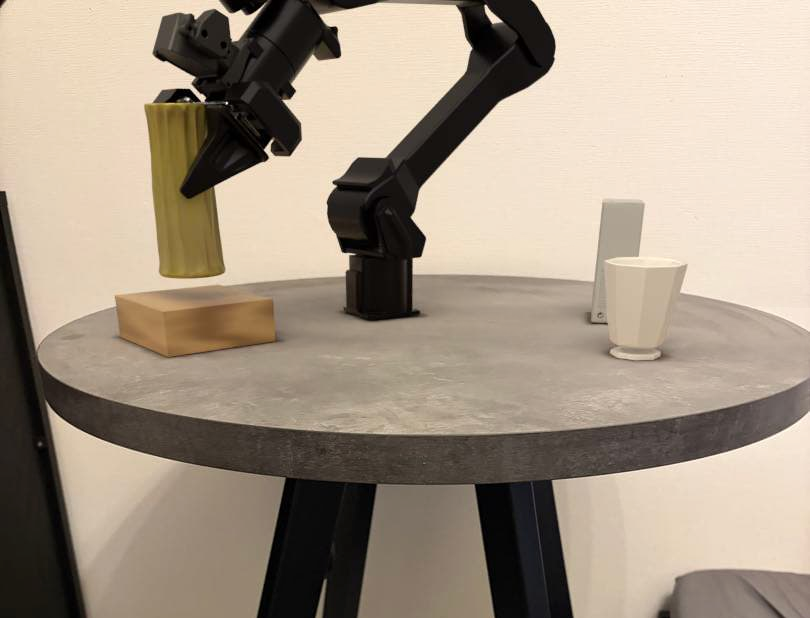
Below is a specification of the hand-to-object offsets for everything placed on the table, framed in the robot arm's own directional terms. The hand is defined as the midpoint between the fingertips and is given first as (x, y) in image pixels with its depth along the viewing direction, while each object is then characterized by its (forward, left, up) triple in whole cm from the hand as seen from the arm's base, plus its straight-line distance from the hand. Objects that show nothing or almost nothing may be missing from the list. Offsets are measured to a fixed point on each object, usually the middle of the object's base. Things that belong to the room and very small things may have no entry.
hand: (169, 193), depth 77 cm
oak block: (-1, 0, -13) cm, 13 cm away
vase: (-1, 0, -7) cm, 7 cm away
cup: (-34, +25, -13) cm, 44 cm away
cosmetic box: (-43, +12, -13) cm, 47 cm away
